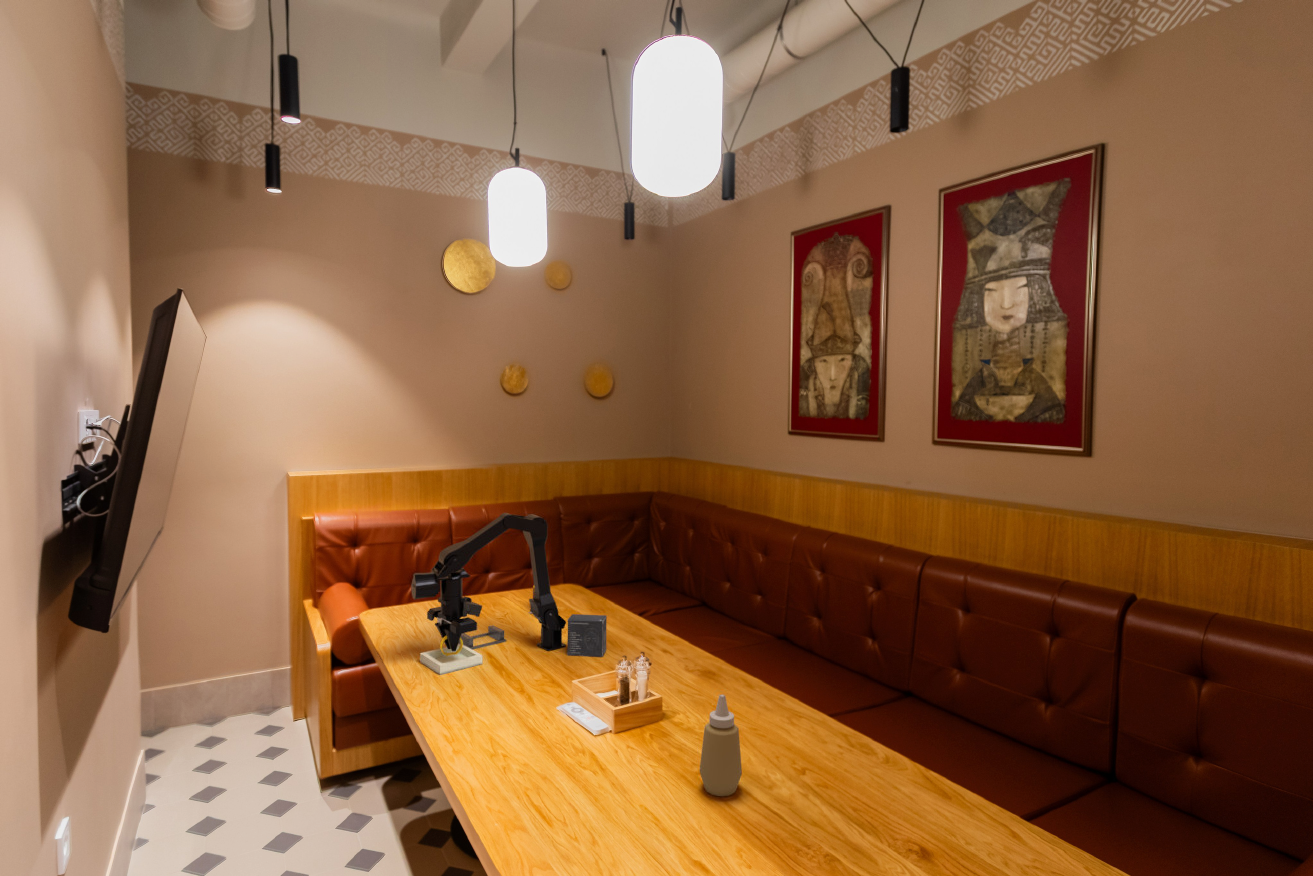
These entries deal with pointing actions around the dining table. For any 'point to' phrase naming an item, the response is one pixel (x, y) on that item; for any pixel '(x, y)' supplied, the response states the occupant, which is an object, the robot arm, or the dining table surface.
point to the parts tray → (450, 660)
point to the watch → (451, 652)
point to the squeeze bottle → (721, 752)
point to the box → (587, 635)
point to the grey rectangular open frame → (492, 632)
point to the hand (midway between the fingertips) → (451, 650)
